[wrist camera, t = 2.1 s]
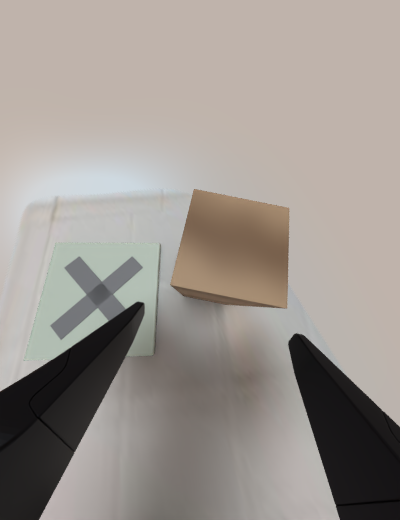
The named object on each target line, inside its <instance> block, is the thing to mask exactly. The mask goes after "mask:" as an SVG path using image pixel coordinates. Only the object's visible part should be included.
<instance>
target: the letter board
mask: <svg viewBox="0 0 400 520" xmlns="http://www.w3.org/2000/svg"><path fill="white" fill-rule="evenodd" d="M160 249H161V245H160V243H55V247H54V250H53V254H52V258H51V262H50V265H49V269H48V273H47V276H46V280H45V284H44V287H43V291H42V295H41V298H40V302H39V306H38V309H37V313H36V317H35V320H34V324H33V328H32V332H31V335H30V339H29V343H28V346H27V350H26V354H25V357H24V361H29V360H52V359H54V358H55V357H57V356H58V355H60V354H61V353H63V352H64V351H66V350H67V349H69V348H71V347H72V346H73V345H74V344H76V343H77V342H79V341H80V340H82V339H83V338H85V337H86V336H88V335H89V334H90V333H92V332H93V331H95V330H96V329H98V328H99V327H101V326H102V325H104V324H105V323H106V322H108V321H109V320H111V319H112V318H114V317H115V316H117V315H118V314H120V313H121V312H122V311H124V310H125V309H127V308H128V307H130V306H131V305H133V304H134V303H136V302H138V301H139V302H143V303H144V304H145V314H144V317H143V319H142V322H141V324H140V327H139V329H138V332H137V334H136V337H135V339H134V341H133V343H132V345H131V347H130V349H129V351H128V353H127V355H126V357H130V356H153V355H154V352H155V334H156V317H157V300H158V283H159V266H160Z"/></svg>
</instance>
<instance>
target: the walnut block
mask: <svg viewBox="0 0 400 520" xmlns="http://www.w3.org/2000/svg"><path fill="white" fill-rule="evenodd" d="M288 246H289V208H286V207H282V206H277V205H272V204H267V203H261V202H257V201H251V200H247V199H242V198H237V197H231V196H226V195H221V194H217V193H212V192H207V191H202V190H197V189H194V191H193V195H192V199H191V203H190V207H189V211H188V215H187V219H186V223H185V227H184V231H183V235H182V239H181V243H180V247H179V252H178V256H177V260H176V264H175V268H174V272H173V276H172V280H171V284H170V285H171V286H172V287H173V288H175V289H176V290H177V291H178V292H179V293H181V294H182V295H183V296H186V297H191V298H196V299H201V300H206V301H211V302H216V303H221V304H226V305H240V306H256V307H272V308H287V293H288Z"/></svg>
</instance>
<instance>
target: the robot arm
mask: <svg viewBox="0 0 400 520" xmlns="http://www.w3.org/2000/svg"><path fill="white" fill-rule="evenodd" d="M144 314H145V304H144V303H143V302H139V301H138V302H136V303H134V304H133V305H131V306H130V307H128V308H127V309H125V310H124V311H122V312H121V313H120V314H118V315H117V316H115V317H114V318H112V319H111V320H109V321H108V322H106V323H105V324H104V325H102V326H101V327H99V328H98V329H96V330H95V331H93V332H92V333H90V334H89V335H88V336H86V337H85V338H83V339H82V340H80V341H79V342H77V343H76V344H74V345H73V346H72V347H71V348H69V349H67V350H66V351H64V352H63V353H61V354H60V355H58V356H57V357H55V358H54V359H52V360H51V361H49V362H48V363H46V364H45V365H43V366H42V367H40V368H38V369H37V370H35V371H33V372H32V373H30V374H29V375H27V376H25V377H24V378H22V379H20V380H19V381H17V382H15V383H14V384H12V385H10V386H9V387H7V388H5V389H4V390H2V391H0V520H39V519H40V517H41V515H42V513H43V511H44V509H45V507H46V505H47V503H48V502H49V500H50V498H51V496H52V494H53V492H54V490H55V488H56V487H57V485H58V483H59V481H60V479H61V477H62V475H63V473H64V472H65V470H66V468H67V466H68V464H69V462H70V460H71V458H72V456H73V455H74V452H75V451H76V449H77V447H78V445H79V443H80V441H81V439H82V437H83V436H84V434H85V432H86V430H87V428H88V426H89V424H90V422H91V421H92V419H93V417H94V415H95V413H96V411H97V409H98V407H99V406H100V404H101V402H102V400H103V398H104V396H105V394H106V392H107V391H108V389H109V387H110V385H111V383H112V381H113V379H114V377H115V375H116V374H117V372H118V370H119V368H120V366H121V364H122V362H123V360H124V359H125V357H126V355H127V353H128V351H129V349H130V347H131V345H132V343H133V341H134V339H135V337H136V334H137V332H138V329H139V327H140V324H141V322H142V319H143V317H144ZM288 346H289V350H290V355H291V360H292V364H293V369H294V373H295V377H296V380H297V383H298V386H299V390H300V393H301V396H302V399H303V402H304V406H305V409H306V412H307V415H308V418H309V422H310V425H311V428H312V431H313V434H314V438H315V441H316V444H317V447H318V450H319V454H320V457H321V460H322V463H323V466H324V470H325V473H326V476H327V479H328V482H329V486H330V489H331V492H332V495H333V498H334V502H335V504H336V508H337V512H338V515H339V518H340V520H400V427H399V426H398V425H397V424H396V423H395V422H394V421H393V420H392V419H391V418H390V417H389V416H388V415H387V414H386V413H385V412H383V411H382V410H381V409H380V408H379V407H378V406H377V405H376V404H375V403H374V402H373V401H372V400H371V399H370V398H369V397H368V396H367V395H366V394H365V393H363V391H362V390H360V389H359V388H358V387H357V386H356V385H355V384H354V383H353V382H352V381H351V380H350V379H349V378H348V377H347V376H346V375H345V374H344V373H343V372H342V371H341V370H340V369H339V368H338V367H336V366H335V365H334V364H333V363H332V362H331V361H330V360H329V359H328V358H327V357H326V356H325V355H324V354H323V353H322V352H321V351H320V350H319V349H318V348H317V347H316V346H315V345H314V344H312V343H311V342H310V341H309V340H308V339H307V338H306V337H305V336H304V335H302V334H297V333H296V334H294V335H293V337H292V338H291V339H290V340H289V343H288Z"/></svg>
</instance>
